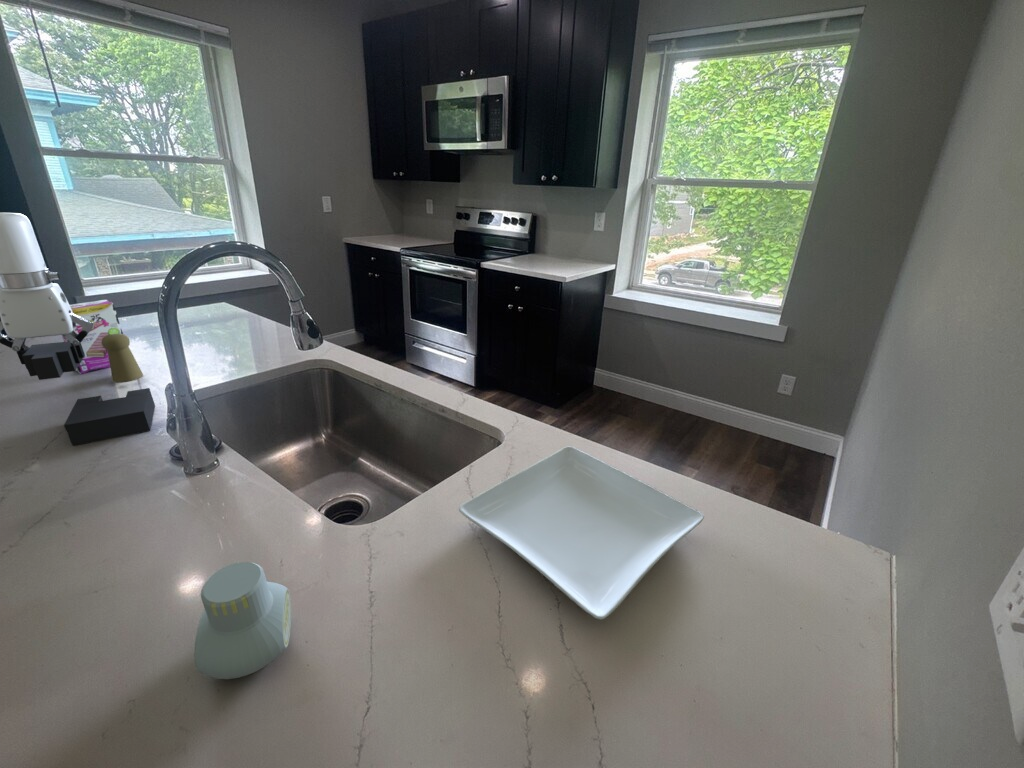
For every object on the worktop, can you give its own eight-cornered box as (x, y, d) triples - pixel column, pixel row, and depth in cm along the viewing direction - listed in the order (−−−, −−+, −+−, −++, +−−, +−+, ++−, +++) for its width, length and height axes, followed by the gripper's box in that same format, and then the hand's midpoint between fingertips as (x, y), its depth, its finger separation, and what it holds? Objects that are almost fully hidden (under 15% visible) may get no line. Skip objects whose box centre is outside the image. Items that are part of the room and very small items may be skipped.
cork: (140, 370, 120) (127, 329, 115) (145, 377, 116) (131, 335, 111) (110, 376, 116) (95, 334, 111) (114, 384, 112) (98, 341, 107)
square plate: (703, 532, 72) (708, 512, 71) (597, 643, 55) (601, 620, 53) (568, 458, 90) (569, 440, 88) (455, 524, 72) (454, 504, 71)
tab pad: (26, 381, 92) (17, 360, 91) (39, 364, 100) (31, 344, 98) (72, 376, 96) (65, 355, 94) (82, 359, 103) (75, 340, 101)
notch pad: (72, 445, 88) (63, 425, 86) (85, 418, 97) (77, 399, 95) (150, 430, 94) (143, 411, 92) (155, 406, 103) (149, 387, 101)
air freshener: (288, 678, 50) (270, 613, 46) (199, 704, 47) (171, 637, 43) (294, 597, 59) (280, 537, 55) (220, 614, 57) (199, 553, 52)
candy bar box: (80, 375, 116) (55, 311, 109) (74, 369, 119) (49, 307, 112) (133, 362, 124) (113, 301, 118) (126, 357, 127) (106, 298, 120)
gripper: (85, 273, 98) (111, 352, 106) (-32, 278, 90) (4, 364, 97) (78, 281, 93) (105, 364, 100) (-48, 287, 84) (-8, 377, 91)
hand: (55, 363), depth 99 cm, fingers closed on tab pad, 7 cm apart
